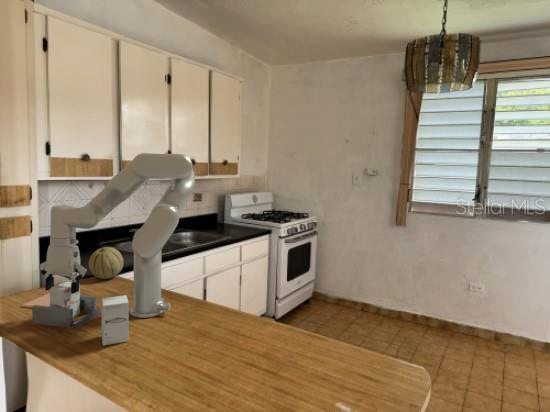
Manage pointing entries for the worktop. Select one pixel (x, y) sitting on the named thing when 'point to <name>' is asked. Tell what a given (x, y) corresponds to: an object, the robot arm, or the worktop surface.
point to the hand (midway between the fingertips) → (62, 290)
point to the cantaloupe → (106, 263)
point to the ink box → (65, 297)
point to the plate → (39, 301)
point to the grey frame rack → (65, 313)
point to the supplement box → (114, 319)
